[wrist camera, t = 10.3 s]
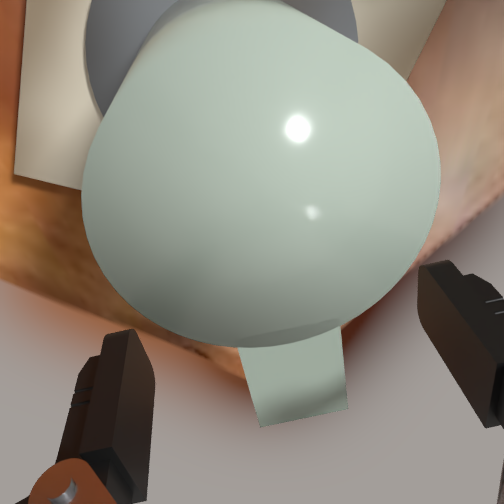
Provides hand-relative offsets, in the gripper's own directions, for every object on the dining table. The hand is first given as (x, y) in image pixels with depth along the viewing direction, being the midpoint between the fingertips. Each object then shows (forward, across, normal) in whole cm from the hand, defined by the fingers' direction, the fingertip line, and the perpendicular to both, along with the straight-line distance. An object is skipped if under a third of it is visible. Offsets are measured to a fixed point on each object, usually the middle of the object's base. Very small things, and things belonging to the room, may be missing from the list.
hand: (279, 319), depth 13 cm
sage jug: (+8, 0, -3) cm, 9 cm away
